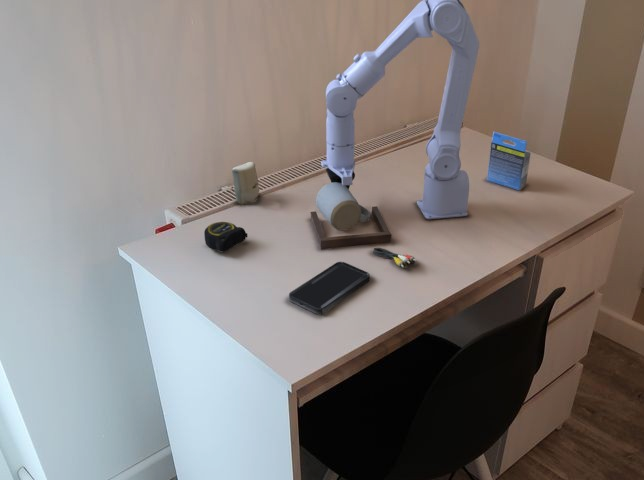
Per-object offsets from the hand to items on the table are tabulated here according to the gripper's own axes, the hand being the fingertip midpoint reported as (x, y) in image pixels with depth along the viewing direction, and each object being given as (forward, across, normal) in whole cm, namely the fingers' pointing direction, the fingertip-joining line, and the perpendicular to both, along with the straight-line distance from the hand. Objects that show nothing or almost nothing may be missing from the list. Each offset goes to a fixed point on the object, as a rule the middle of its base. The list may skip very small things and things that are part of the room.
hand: (340, 201), depth 155 cm
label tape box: (+2, -6, +41) cm, 42 cm away
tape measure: (+2, +11, -25) cm, 27 cm away
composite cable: (+2, +22, +7) cm, 23 cm away
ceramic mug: (+2, +5, 0) cm, 6 cm away
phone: (+2, +30, -8) cm, 31 cm away
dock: (+2, +9, 0) cm, 9 cm away
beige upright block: (+2, -8, -19) cm, 21 cm away
